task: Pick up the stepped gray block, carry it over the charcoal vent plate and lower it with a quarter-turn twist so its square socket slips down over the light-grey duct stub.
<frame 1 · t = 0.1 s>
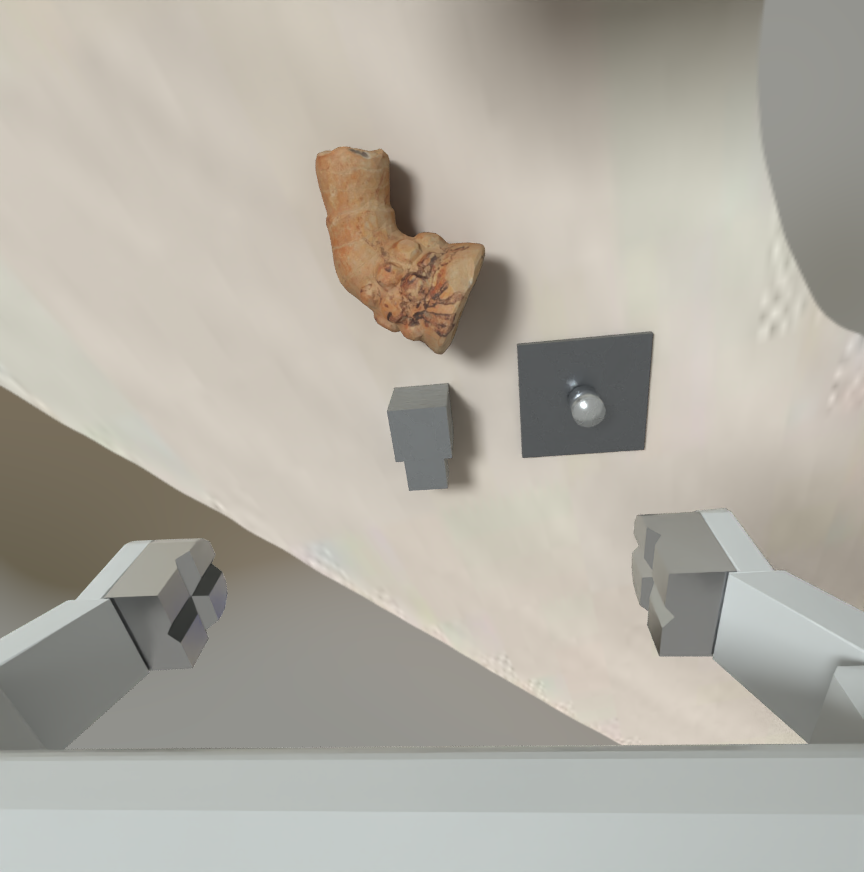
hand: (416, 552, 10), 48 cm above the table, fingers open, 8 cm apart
stepped gray block: (424, 410, 62), on the table
clay pipe: (412, 246, 54), on the table
duct plate: (582, 397, 60), on the table
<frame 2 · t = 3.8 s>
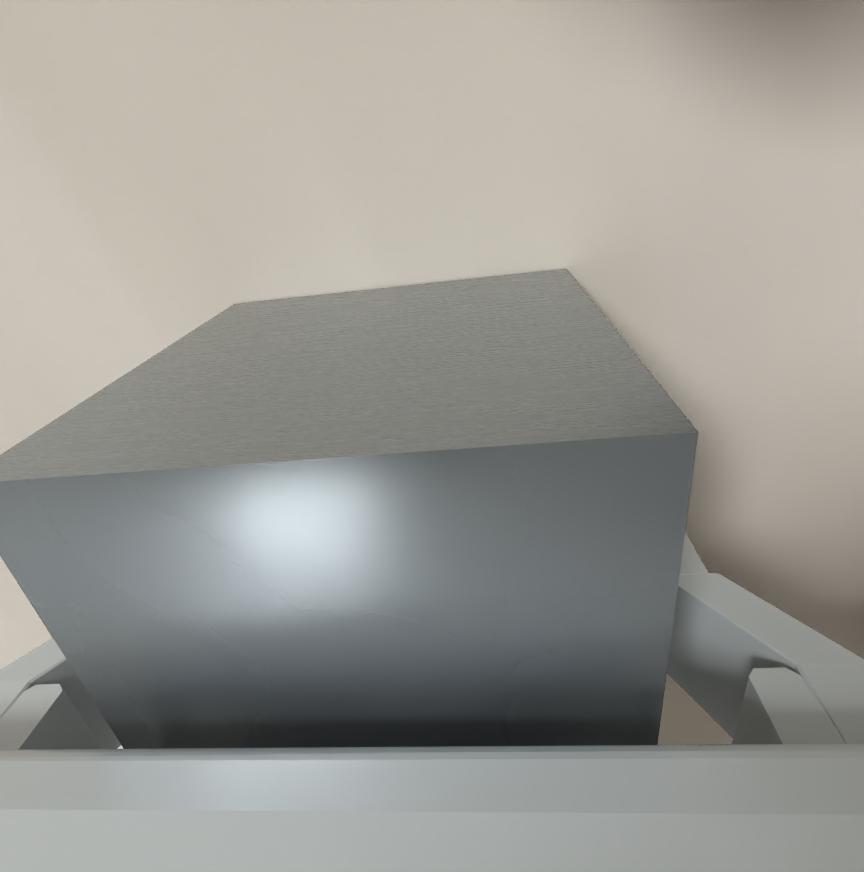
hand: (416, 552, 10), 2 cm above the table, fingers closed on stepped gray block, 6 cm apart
stepped gray block: (416, 435, 11), on the table, touching gripper
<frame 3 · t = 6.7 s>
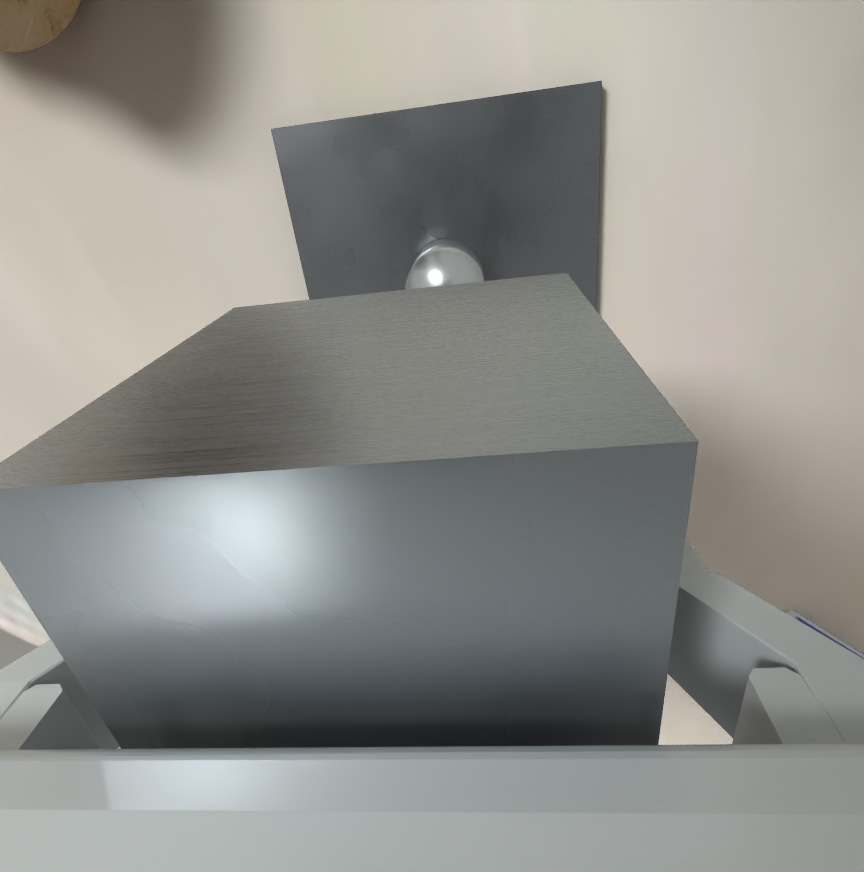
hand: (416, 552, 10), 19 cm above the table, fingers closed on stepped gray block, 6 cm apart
stepped gray block: (416, 438, 11), point 17 cm above the table, touching gripper
duct plate: (448, 273, 26), on the table
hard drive: (798, 671, 39), on the table
when the fingers open (3 cm above the table, at t = 9.5 s): stepped gray block stays where it is, resting on duct plate.
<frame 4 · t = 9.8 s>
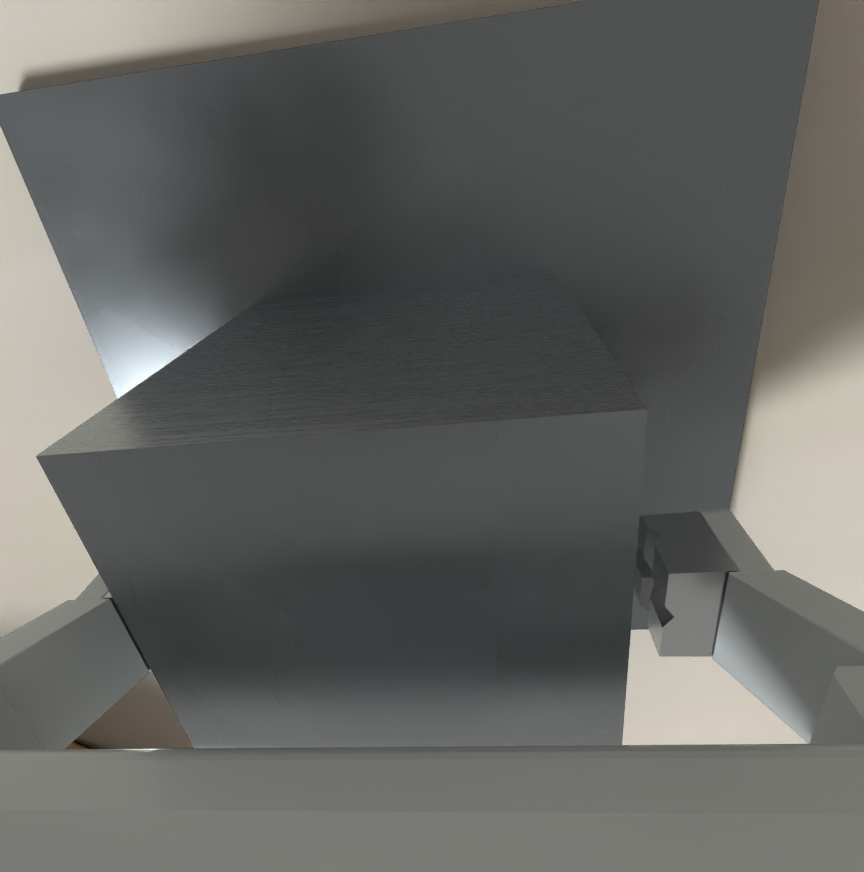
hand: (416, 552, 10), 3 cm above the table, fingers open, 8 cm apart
stepped gray block: (418, 426, 12), point 1 cm above the table, touching duct plate
duct plate: (423, 405, 13), on the table
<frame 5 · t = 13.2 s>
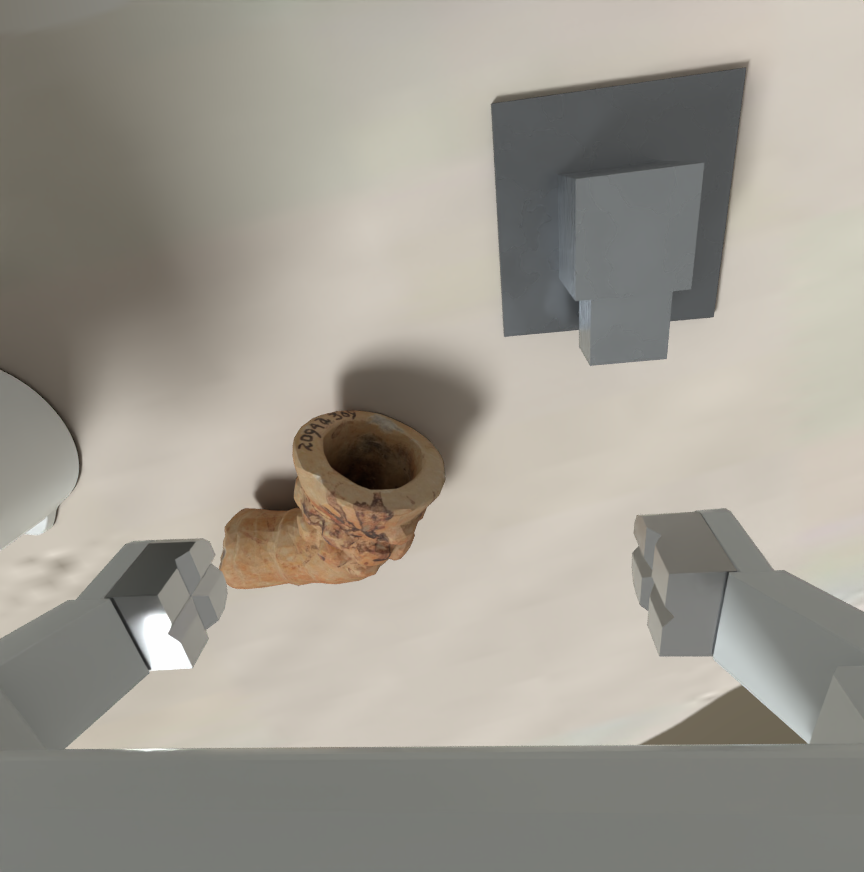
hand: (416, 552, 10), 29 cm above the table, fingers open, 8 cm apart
stepped gray block: (608, 222, 33), point 1 cm above the table, touching duct plate
clay pipe: (339, 476, 45), on the table
duct plate: (608, 217, 34), on the table
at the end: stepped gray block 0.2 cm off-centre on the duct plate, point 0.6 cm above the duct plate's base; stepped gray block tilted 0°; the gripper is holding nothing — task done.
